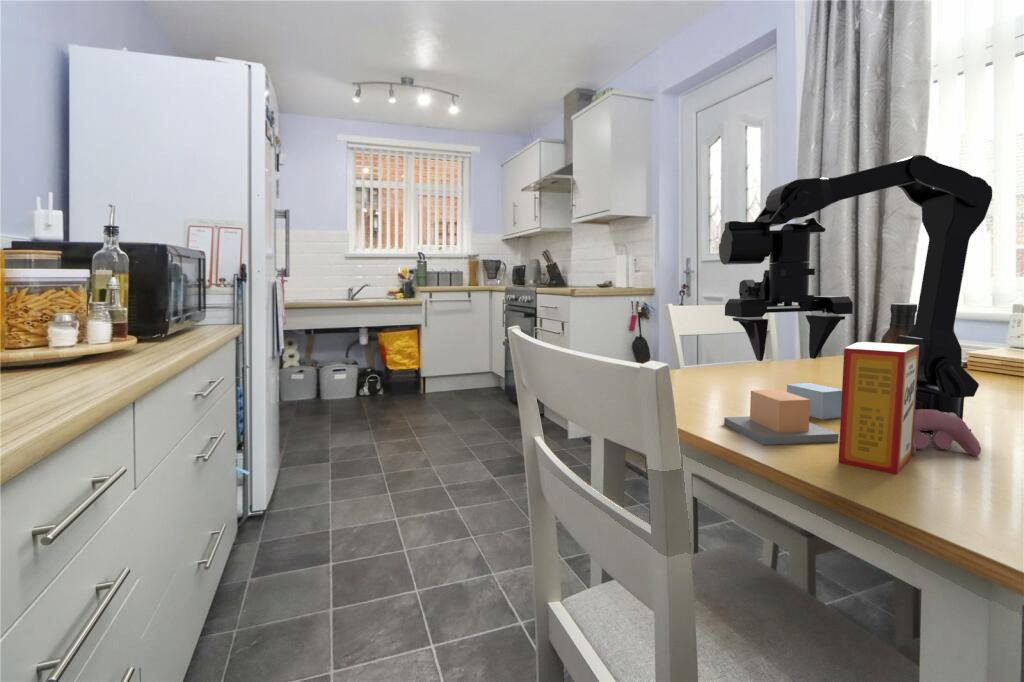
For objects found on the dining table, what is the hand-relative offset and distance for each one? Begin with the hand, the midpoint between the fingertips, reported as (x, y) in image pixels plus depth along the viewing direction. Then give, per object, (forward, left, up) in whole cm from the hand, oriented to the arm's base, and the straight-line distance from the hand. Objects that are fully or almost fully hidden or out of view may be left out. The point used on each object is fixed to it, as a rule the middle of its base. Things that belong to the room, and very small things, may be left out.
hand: (786, 359), depth 86 cm
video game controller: (-14, +13, -12) cm, 23 cm away
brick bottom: (+2, +1, -11) cm, 11 cm away
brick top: (-12, -10, -12) cm, 20 cm away
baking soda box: (-3, +15, -12) cm, 20 cm away
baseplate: (+2, +1, -12) cm, 12 cm away
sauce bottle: (-30, -12, -12) cm, 35 cm away
